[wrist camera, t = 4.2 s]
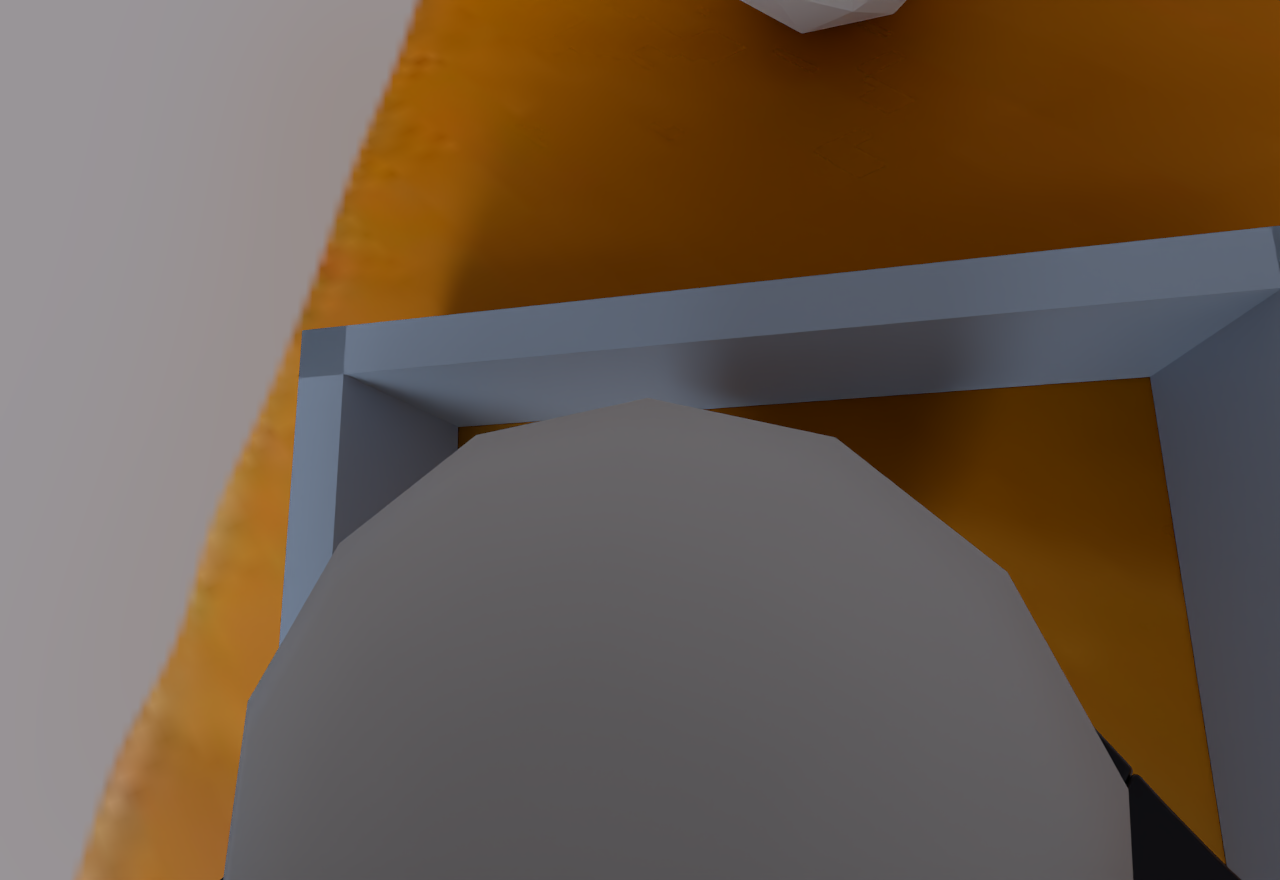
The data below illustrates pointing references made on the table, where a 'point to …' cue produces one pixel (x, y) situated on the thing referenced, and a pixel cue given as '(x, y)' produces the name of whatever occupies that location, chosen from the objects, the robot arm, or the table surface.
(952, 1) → the table surface
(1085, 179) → the table surface
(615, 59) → the table surface
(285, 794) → the salt shaker
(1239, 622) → the cradle
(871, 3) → the ornament
